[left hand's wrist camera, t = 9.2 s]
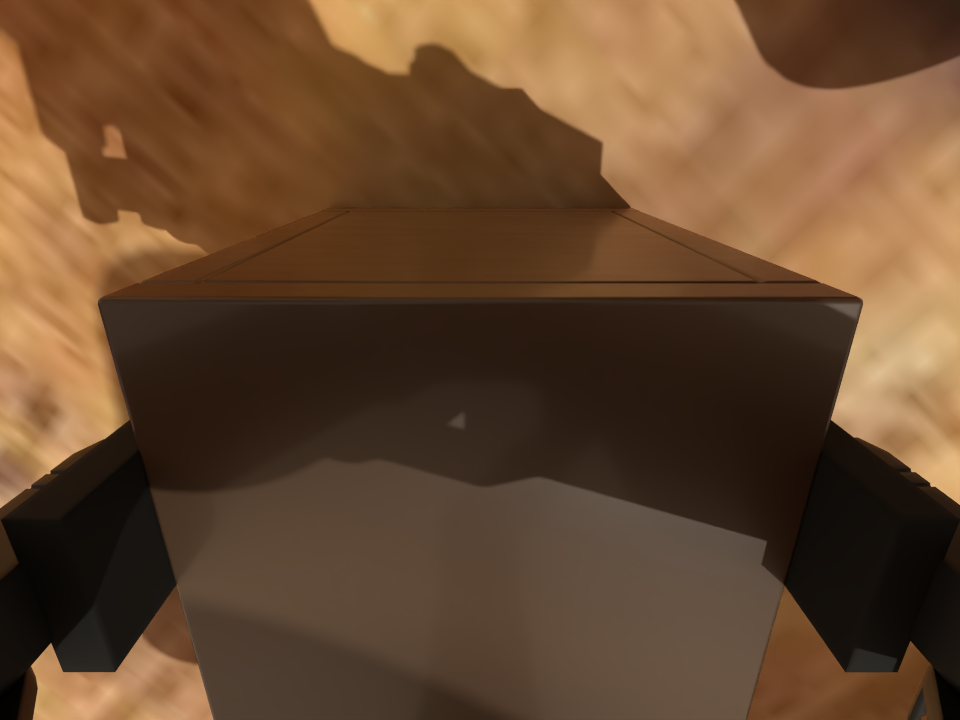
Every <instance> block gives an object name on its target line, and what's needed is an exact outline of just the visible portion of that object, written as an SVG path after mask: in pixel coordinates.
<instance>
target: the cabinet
mask: <svg viewBox="0 0 960 720" xmlns="http://www.w3.org/2000/svg"><path fill="white" fill-rule="evenodd" d="M98 306H99V310H100V313H101V317H102V320H103V324H104V328H105V331H106V335H107V338H108V342H109V346H110V349H111V353H112V356H113V360H114V363H115V367H116V371H117V374H118V378H119V381H120V385H121V389H122V392H123V396H124V399H125V403H126V407H127V410H128V414H129V417H130V421H131V425H132V428H133V432H134V435H135V439H136V442H137V446H138V450H139V453H140V457H141V460H142V464H143V468H144V471H145V475H146V478H147V482H148V486H149V489H150V493H151V496H152V500H153V504H154V507H155V511H156V514H157V518H158V521H159V525H160V529H161V532H162V536H163V539H164V543H165V547H166V550H167V554H168V557H169V561H170V565H171V568H172V572H173V575H174V579H175V583H176V586H177V590H178V593H179V597H180V600H181V604H182V608H183V611H184V615H185V618H186V622H187V626H188V629H189V633H190V636H191V640H192V644H193V647H194V651H195V654H196V658H197V662H198V665H199V669H200V672H201V676H202V679H203V683H204V687H205V690H206V694H207V697H208V701H209V705H210V708H211V712H212V715H213V719H214V720H747V717H748V714H749V710H750V707H751V703H752V700H753V696H754V692H755V689H756V685H757V682H758V678H759V675H760V671H761V667H762V664H763V660H764V657H765V653H766V649H767V646H768V642H769V639H770V635H771V632H772V628H773V624H774V621H775V617H776V614H777V610H778V607H779V603H780V599H781V596H782V592H783V589H784V585H785V581H786V578H787V574H788V571H789V567H790V564H791V560H792V556H793V553H794V549H795V546H796V542H797V538H798V535H799V531H800V528H801V524H802V521H803V517H804V513H805V510H806V506H807V503H808V499H809V496H810V492H811V488H812V485H813V481H814V478H815V474H816V470H817V467H818V463H819V460H820V456H821V453H822V449H823V445H824V442H825V438H826V435H827V431H828V428H829V424H830V420H831V417H832V413H833V410H834V406H835V402H836V399H837V395H838V392H839V388H840V385H841V381H842V377H843V374H844V370H845V367H846V363H847V360H848V356H849V352H850V349H851V345H852V342H853V338H854V334H855V331H856V327H857V324H858V320H859V317H860V313H861V309H862V306H863V301H862V299H861V298H859V297H856V296H854V295H851V294H849V293H846V292H844V291H841V290H839V289H836V288H833V287H831V286H828V285H826V284H821V283H820V282H818V281H816V280H813V279H811V278H808V277H806V276H803V275H801V274H798V273H795V272H793V271H790V270H788V269H785V268H783V267H780V266H778V265H775V264H772V263H770V262H767V261H765V260H762V259H760V258H757V257H755V256H752V255H749V254H747V253H744V252H742V251H739V250H737V249H734V248H732V247H729V246H726V245H724V244H721V243H719V242H716V241H714V240H711V239H709V238H706V237H704V236H701V235H698V234H696V233H693V232H691V231H688V230H686V229H683V228H681V227H678V226H675V225H673V224H670V223H668V222H665V221H663V220H660V219H658V218H655V217H652V216H650V215H647V214H645V213H642V212H640V211H638V210H635V209H633V208H328V209H325V210H323V211H321V212H319V213H316V214H313V215H311V216H308V217H306V218H303V219H301V220H298V221H296V222H293V223H290V224H288V225H285V226H283V227H280V228H278V229H275V230H273V231H270V232H267V233H265V234H262V235H260V236H257V237H255V238H252V239H250V240H247V241H244V242H242V243H239V244H237V245H234V246H232V247H229V248H227V249H224V250H221V251H219V252H216V253H214V254H211V255H209V256H206V257H204V258H201V259H198V260H196V261H193V262H191V263H188V264H186V265H183V266H181V267H178V268H175V269H173V270H170V271H168V272H165V273H163V274H160V275H158V276H155V277H152V278H150V279H147V280H145V281H143V282H141V283H137V284H134V285H132V286H129V287H127V288H124V289H122V290H119V291H117V292H114V293H111V294H109V295H106V296H104V297H102V298H100V299H99V300H98Z"/></svg>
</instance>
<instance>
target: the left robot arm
mask: <svg viewBox="0 0 960 720" xmlns="http://www.w3.org/2000/svg"><path fill="white" fill-rule="evenodd" d="M31 486H32V487H31V489H26V490H24V491H23V492H22V493H20V494H19V495H18V496H16V497H15V498H14V499H12V500H11V501H10V502H8V503H7V504H6V505H4V506H3V507H2V508H0V720H33V714H34V708H35V702H36V695H37V689H38V688H37V682H36V677H35V674H34V672H33V670H32V667H31V665H32V664H33V663H34V662H35V660H36V659H37V658H38V657H39V656H40V655H41V654H42V652H43V651H44V650H45V649H46V648H47V647H48V646H49V644H50V643H52V646H53V648H54V651H55V653H56V655H57V658H58V660H59V663H60V665H61V668H62V670H63V672H115V671H116V670H117V669H118V667H119V666H120V664H121V663H122V661H123V660H124V659H125V657H126V656H127V654H128V653H129V651H130V650H131V649H132V647H133V646H134V644H135V643H136V641H137V640H138V639H139V637H140V636H141V634H142V633H143V631H144V630H145V629H146V627H147V626H148V624H149V623H150V621H151V620H152V619H153V617H154V616H155V614H156V613H157V611H158V610H159V609H160V607H161V606H162V604H163V603H164V601H165V600H166V599H167V597H168V596H169V594H170V593H171V591H172V590H173V589H174V587H175V586H176V583H175V579H174V575H173V572H172V568H171V565H170V561H169V557H168V554H167V550H166V547H165V543H164V539H163V536H162V532H161V529H160V525H159V521H158V518H157V514H156V511H155V507H154V504H153V500H152V496H151V493H150V489H149V486H148V482H147V478H146V475H145V471H144V468H143V464H142V460H141V457H140V453H139V450H138V446H137V442H136V439H135V435H134V432H133V428H132V425H131V421H130V420H129V421H128V422H127V423H125V424H124V425H123V426H121V427H120V428H119V429H118V430H116V431H115V432H114V433H112V434H111V435H110V436H108V437H107V438H106V439H103V440H101V441H99V442H97V443H95V444H93V445H91V446H89V447H87V448H85V449H83V450H80V451H78V452H76V453H74V454H73V455H71V456H70V457H69V458H67V459H66V460H65V461H63V462H62V463H61V464H59V465H58V466H56V467H55V468H54V469H52V470H51V473H50V474H46V475H44V476H43V477H42V478H40V479H39V480H38V481H36V482H35V483H34V484H32V485H31ZM785 586H786V588H787V589H788V591H789V592H790V593H791V595H792V596H793V598H794V599H795V601H796V602H797V603H798V605H799V606H800V608H801V609H802V611H803V612H804V613H805V615H806V616H807V618H808V619H809V621H810V622H811V623H812V625H813V626H814V628H815V629H816V631H817V632H818V633H819V635H820V636H821V638H822V639H823V641H824V642H825V643H826V645H827V646H828V648H829V649H830V651H831V652H832V653H833V655H834V656H835V658H836V659H837V661H838V662H839V663H840V665H841V666H842V668H843V669H844V671H845V672H898V670H899V667H900V665H901V662H902V660H903V657H904V655H905V653H906V650H907V648H908V645H909V643H910V641H911V642H912V643H913V644H914V645H915V646H916V647H917V649H918V650H919V651H920V652H921V653H922V654H923V655H924V657H925V658H926V659H927V660H928V661H929V662H930V665H929V667H928V670H927V672H926V674H925V677H924V679H923V681H922V683H921V686H920V688H919V690H918V692H917V695H916V697H915V699H914V701H913V704H912V706H911V708H910V711H909V713H908V718H907V720H920V719H921V717H922V716H924V715H926V714H927V718H928V720H960V505H959V504H958V503H956V502H955V501H954V500H952V499H951V498H949V497H948V496H947V495H945V494H944V493H943V492H941V491H940V490H939V489H937V488H936V487H931V486H930V483H929V482H928V481H926V480H925V479H924V478H922V477H921V476H920V475H918V474H917V473H916V472H911V469H910V468H909V467H908V466H906V465H905V464H904V463H902V462H901V461H899V460H898V459H897V458H895V457H894V456H893V455H891V454H890V453H889V452H887V451H885V450H883V449H881V448H878V447H876V446H874V445H872V444H870V443H868V442H866V441H864V440H862V439H860V438H854V437H852V436H851V435H850V434H848V433H847V432H846V431H844V430H843V429H842V428H841V427H839V426H838V425H837V424H835V423H834V422H833V421H831V420H830V424H829V428H828V431H827V435H826V438H825V442H824V445H823V449H822V453H821V456H820V460H819V463H818V467H817V470H816V474H815V478H814V481H813V485H812V488H811V492H810V496H809V499H808V503H807V506H806V510H805V513H804V517H803V521H802V524H801V528H800V531H799V535H798V538H797V542H796V546H795V549H794V553H793V556H792V560H791V564H790V567H789V571H788V574H787V578H786V581H785Z"/></svg>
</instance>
